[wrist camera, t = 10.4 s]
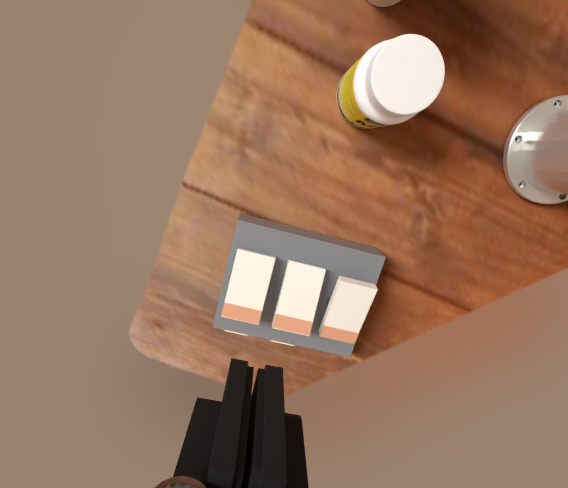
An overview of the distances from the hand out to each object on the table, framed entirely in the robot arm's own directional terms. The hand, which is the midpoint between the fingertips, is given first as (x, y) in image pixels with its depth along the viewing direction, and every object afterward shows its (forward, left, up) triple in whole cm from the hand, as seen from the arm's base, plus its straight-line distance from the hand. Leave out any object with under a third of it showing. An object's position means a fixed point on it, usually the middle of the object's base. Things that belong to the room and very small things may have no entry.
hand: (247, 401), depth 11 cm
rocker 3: (-12, +8, -29) cm, 32 cm away
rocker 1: (0, +8, -29) cm, 30 cm away
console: (-6, +8, -34) cm, 36 cm away
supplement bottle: (-8, -16, -34) cm, 39 cm away
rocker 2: (-6, +8, -29) cm, 31 cm away
